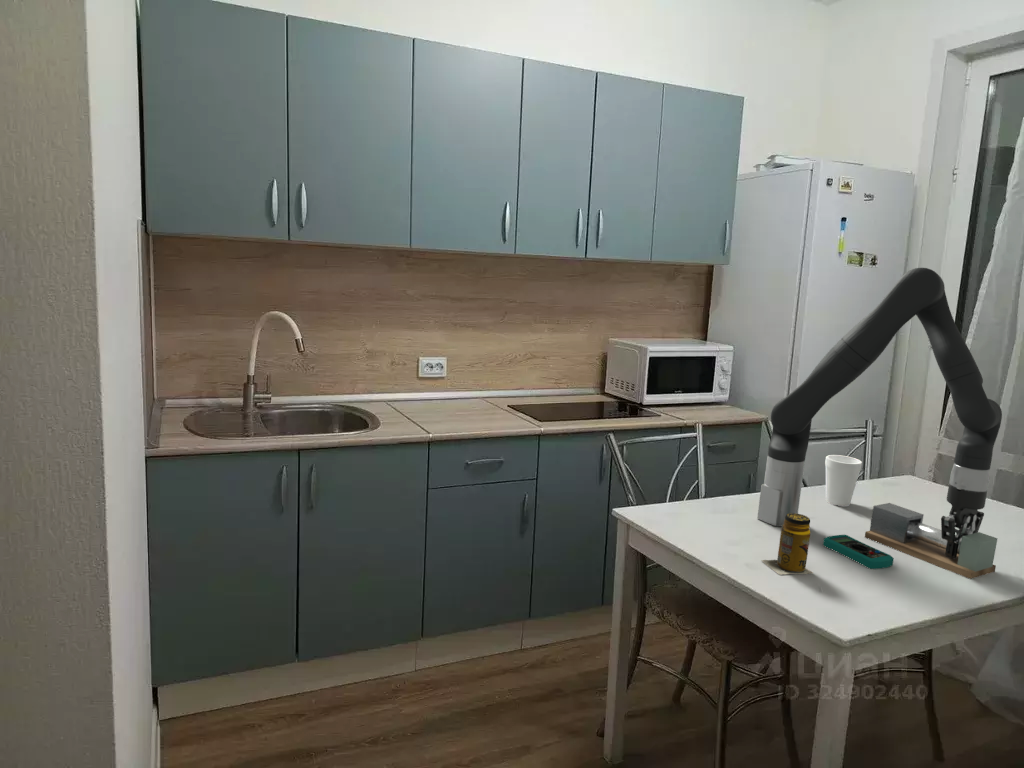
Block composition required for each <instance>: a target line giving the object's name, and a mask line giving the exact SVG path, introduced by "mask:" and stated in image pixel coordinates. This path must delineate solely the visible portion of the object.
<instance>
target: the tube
mask: <svg viewBox="0 0 1024 768" xmlns="http://www.w3.org/2000/svg"><path fill="white" fill-rule="evenodd" d="M907 535H908V536H910V537H913V538H916V539H918V540H921V541H924V542H927V543H929V544H932V545H935V546H937V547H940V548H943V549H945V550H946V546H947V540H945V539H942V532H941V529H939V528H937V527H933V526H931V525H928V524H925V523H923V522H922V523H920V522H917V521H914V520H910V521H909V525H908V531H907ZM955 537H956V534H955ZM961 541H962V537H960V540H959V543H958V544H959V545H958V551H957V554H959V552H960V547H961Z"/></svg>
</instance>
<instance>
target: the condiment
mask: <svg viewBox="0 0 1024 768" xmlns="http://www.w3.org/2000/svg"><path fill="white" fill-rule="evenodd" d="M810 525H811V519H810V517H808V516H807V515H804V514H800V513H798V514H796V513H788V514H786V516H785V520H784V525H783V526H781V528H780V537H779V544H778V550H777V551H778V552H777V559H761V562H763V564H764V565H766V566H767V567H768V568H769V569H770V570H772V571H774V572H775V573H777V574H778V575H779V576H781V575H808V574H809V575H810V574H814V572H813V571H812V570H810V569H808V568H807V567H806V566H807V560H808V554H809V547H810V546H809V545H810V539H811V530H810V528H811V527H810Z"/></svg>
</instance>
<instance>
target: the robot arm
mask: <svg viewBox="0 0 1024 768" xmlns="http://www.w3.org/2000/svg"><path fill="white" fill-rule="evenodd" d="M945 289H946V288H945V283H944V280H943V278H942V277H941V276H940V275H939V274H938V273H937V272H936V271H935V270H933V269H930V268H928V267H915V268H912V269H910V270H908V271H906V272H905V273H904V274H903V275H902V276H901V277H900V278H899V279H898V280H897V282H896V283H894V286H892V288H891V289H890V290H889V292H888V293H887V294H886V296H885V297H883V299H882V300H881V301H880V302H879V304H877V306H876V307H875V308H874V309H873V310H872V311H870V312H869V313H868V314H867V315H866V316H865V317H863V318H862V319H861V320H860V321H858V322H857V324H855V325H854V326H853V327H852V328H851V329H850V330H849V331H848V332H847V333H845V334H844V335H843V336H842V337H841V338H840V339H839V341H837V342H836V343H835V345H833V347H831V349H829V351H827V353H826V354H825V356H823V357H822V358H821V360H820V361H819V362H818V364H817V365H816V366H815V367H814V369H813V370H812V371H811V373H810V374H809V375H808V377H806V379H805V380H804V381H803V382H802V383H801V384H800V385H799V386H797V387H796V388H795V389H794V390H792V392H790V393H789V394H787V396H785V397H782V398H781V399H780V400H779V401H777V403H775V404H774V405H773V407H772V409H771V412H770V421H771V425H772V431H771V438H770V441H769V444H768V449H767V458H766V465H765V473H764V482H763V483H762V484H761V486H760V494H759V502H758V510H757V518H756V519H758V520H761V522H764V523H767V524H770V525H772V526H774V527H782V526H783V525H784V520H785V516H786V514H788V513H796V514H799V508H800V500H801V494H802V493H801V491H802V487H803V478H804V472H805V463H806V462H805V461H806V456H807V452H808V447H809V443H810V442H809V441H810V435H811V434H810V433H811V428H812V420H813V418H814V417H815V415H816V414H817V413H818V412H819V411H820V410H821V409H822V408H823V406H825V405H826V404H827V403H828V402H829V401H830V400H831V399H833V397H835V396H836V395H837V394H839V393H840V392H841V391H843V390H844V389H845V388H847V387H848V386H849V385H851V384H852V383H853V382H854V381H855V380H856V379H857V378H859V377H860V376H861V375H862V374H863V373H864V372H865V371H867V369H868V368H870V366H871V365H872V364H873V363H875V361H876V360H877V359H878V358H879V357H880V356H881V355H882V353H884V351H885V350H886V348H887V347H888V345H889V344H890V342H892V340H893V338H894V337H895V336H896V335H897V333H898V332H899V331H900V330H901V328H903V326H905V325H906V324H907V323H908V322H909V321H910V320H911V319H912V318H914V317H915V316H916V317H917V319H918V320H919V322H920V323H921V326H922V327H923V329H924V331H925V334H926V336H927V338H928V340H929V343H930V346H931V350H932V352H933V355H934V358H935V360H936V363H937V365H938V368H939V371H940V372H941V374H942V377H943V378H944V381H945V383H946V385H947V387H948V389H949V391H950V395H951V399H952V403H953V406H954V410H955V413H956V416H957V418H958V420H959V421H960V423H961V424H962V426H963V432H962V436H961V438H960V440H959V441H958V443H957V445H956V450H955V455H954V461H953V465H952V468H951V472H950V476H949V477H950V478H949V481H948V489H947V495H946V502H948V503H949V504H950V505H951V508H950V511H949V515H948V516H946V515H942V516H941V518H940V519H941V520H940V523H941V524H940V525H941V527H940V528H941V529H940V530H941V532H942V539H945V540H947V546H946V552H945V555H946V556H947V557H950V558H952V559H954V558H956V557H957V551H958V545H959V544H958V543H959V540H960V537H962V536H966V535H970V534H974V533H978V532H980V528H981V524H982V522H983V519H984V517H985V512H983V511H980V510H982V509H985V507H986V501H987V495H988V489H989V485H990V478H991V477H990V473H991V465H992V459H993V451H994V447H995V443H996V440H997V438H998V434H999V431H1000V429H1001V428H1000V427H1001V425H1002V424H1001V423H1002V420H1003V411H1002V408H1001V407H1000V405H999V404H998V402H996V401H995V400H993V399H990V398H988V397H987V394H986V393H985V392H986V391H985V390H984V387H983V382H984V380H983V376H982V373H981V371H980V369H979V366H978V365H977V362H976V360H975V359H974V357H973V354H972V353H971V350H970V348H969V347H968V345H967V343H966V341H965V339H964V338H963V335H962V334H961V332H960V330H959V328H958V326H957V324H956V322H955V320H954V317H953V315H952V312H951V309H950V306H949V302H948V298H947V295H946V291H945ZM955 535H956V537H955Z"/></svg>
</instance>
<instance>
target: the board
mask: <svg viewBox="0 0 1024 768" xmlns="http://www.w3.org/2000/svg"><path fill="white" fill-rule="evenodd" d="M864 533H865V534H864V538H865V537H866V538H865V539H868V538H869V540H870V539H871V540H870V541H873V540H874V541H873V542H875V541H877V542H876V543H878V542H879V543H878V544H880V543H882V544H881V545H883V544H884V545H883V546H886V547H888V546H889V547H888V548H891V547H892V548H891V549H893V548H894V549H893V550H896V549H897V550H896V551H898V550H899V551H898V552H901V551H902V552H901V553H903V552H904V554H906V555H908V554H909V556H911V557H914V558H916V559H919V560H921V561H923V562H925V563H929V564H932V565H934V566H935V567H939V568H942V569H944V570H947V571H949V572H951V573H954V574H957V575H959V576H962V577H964V578H967V579H969V578H970V580H972V578H973V579H975V578H980V577H982V576H985V575H988V574H992V573H995V572H996V564H993V566H992V567H989V568H986V569H983V570H979V571H976V572H975V571H973V570H970V569H967V568H965V567H962V566H960V565H957V564H958V558H959V554H957V557H956V558H954V559H952V558H950V557H947V556H946V555H945V552H946V550H945V549H943V548H940V547H937V546H935V545H932V544H929V543H927V542H924V541H921V540H917V541H913V542H909V543H904V544H903V543H900V542H898V541H895V540H893V539H890V538H887V537H885V536H882V535H879V534H877V533H874V532H872V531H870V530H868V531H865V532H864Z"/></svg>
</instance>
